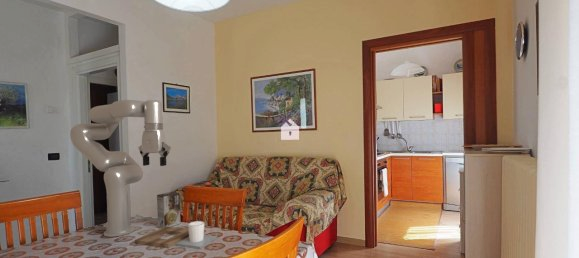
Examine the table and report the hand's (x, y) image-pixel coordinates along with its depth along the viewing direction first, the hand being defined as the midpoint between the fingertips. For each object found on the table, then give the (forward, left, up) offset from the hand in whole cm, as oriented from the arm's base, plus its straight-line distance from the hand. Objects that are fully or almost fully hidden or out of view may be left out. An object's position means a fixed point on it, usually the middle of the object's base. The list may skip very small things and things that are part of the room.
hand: (154, 165), depth 131 cm
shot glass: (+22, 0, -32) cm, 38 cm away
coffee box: (-6, +15, -32) cm, 36 cm away
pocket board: (+6, 0, -32) cm, 33 cm away
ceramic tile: (+22, 0, -32) cm, 39 cm away
